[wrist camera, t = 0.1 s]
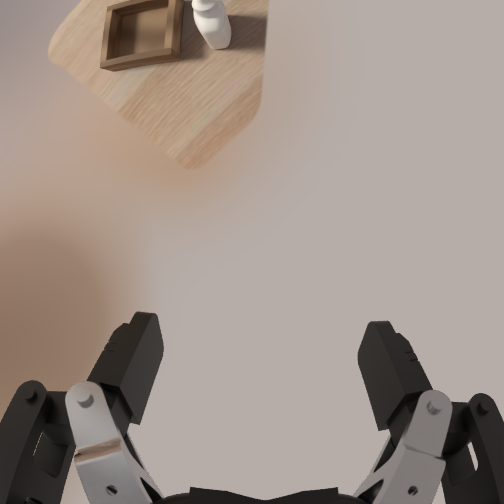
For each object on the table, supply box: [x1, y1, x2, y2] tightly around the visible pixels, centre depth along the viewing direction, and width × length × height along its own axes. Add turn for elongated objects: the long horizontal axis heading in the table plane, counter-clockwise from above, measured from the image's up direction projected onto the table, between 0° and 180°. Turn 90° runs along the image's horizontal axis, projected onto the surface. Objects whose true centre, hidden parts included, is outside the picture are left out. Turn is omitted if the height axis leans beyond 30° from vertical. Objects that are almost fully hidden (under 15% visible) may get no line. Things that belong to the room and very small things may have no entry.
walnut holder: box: [100, 0, 184, 71], centre depth 25 cm, size 10×10×4 cm
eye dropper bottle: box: [192, 0, 231, 49], centre depth 22 cm, size 4×6×12 cm
